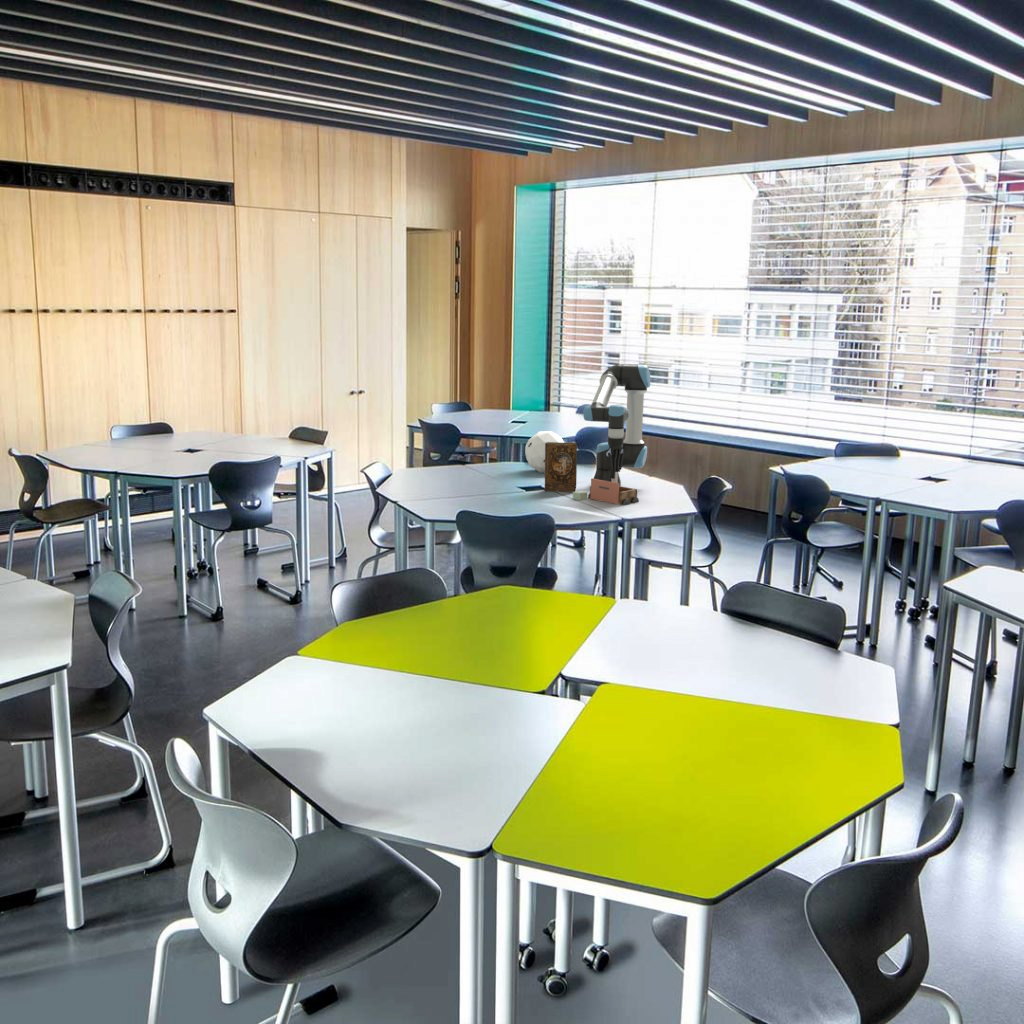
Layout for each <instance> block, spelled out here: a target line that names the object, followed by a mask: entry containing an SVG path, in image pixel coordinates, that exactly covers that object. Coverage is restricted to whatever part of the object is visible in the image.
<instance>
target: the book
mask: <svg viewBox="0 0 1024 1024" xmlns="http://www.w3.org/2000/svg"><path fill="white" fill-rule="evenodd" d="M577 463H578V444H577V442H564V443H555V442H547V443H545V472H544V492H546V493H547V492H552V493H553V492H557V493H573V492H575V491H577V490H576V489H577V473H578V471H577V468H578V467H577V465H578V464H577Z"/></svg>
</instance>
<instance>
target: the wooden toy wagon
mask: <svg viewBox="0 0 1024 1024" xmlns="http://www.w3.org/2000/svg"><path fill="white" fill-rule="evenodd" d="M587 499H590V500H592V499H591V486H589V494H587ZM593 500H595V499H593ZM595 501H596V500H595ZM598 501H600V500H598ZM639 501H640V500H639V498H638V489H637V488H633V487H632V488H631V487H626V486H619V504H618V505H621V506H622V505H623V506H627V505H630V504H636V503H639ZM600 502H601V501H600ZM604 502H605V501H603V503H604ZM609 503H610V502H608V504H609ZM610 504H611V503H610ZM613 504H615V503H613ZM615 505H616V504H615Z"/></svg>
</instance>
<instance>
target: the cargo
mask: <svg viewBox="0 0 1024 1024" xmlns="http://www.w3.org/2000/svg"><path fill="white" fill-rule="evenodd" d="M572 500H577V501H578V500H579V501H583V500H588V492H587V491H582V490H576V491H575V492H572Z"/></svg>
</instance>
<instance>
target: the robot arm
mask: <svg viewBox="0 0 1024 1024" xmlns="http://www.w3.org/2000/svg"><path fill="white" fill-rule="evenodd" d="M650 386H651V372H650V369H649V366H648V365H646V364H640V363H637V364H635V363H633V364H631V363H629V364H628V363H618V364H617V363H616V364H614V365H612V366H610V367H609V368H607V369H605V370H604V372H603V373H602V374H601V376H600V378H599V385H598V388H597V390H596V393H595V395H594V397H593V400H592V402H591V405H586V406H584V408H583V412H582V414H583V415H582V416H583V419H584V421H586V422H596V423H597V422H600V423H601V422H602V423H603V422H604V423H608V426H607V427H608V429H607V431H608V433H607V436H608V437H607V441H606V442H601V443H599V444H597V446H596V452H595V454H596V459H595V460H596V462H595V463H596V464H595V465H596V466H595V473H594V476H593V478H592V479H598V480H604V481H609V482H615V483H619V486H621V485H622V480H621V477H620V474H619V473H620V472H621V470H622V469H623V468H634V469H639V468H643V467H644V466H645V464H646V461H647V457H648V456H647V455H648V446H647V445H645V441H644V440H643V420H644V419H643V418H644V417H643V416H644V397H645V396H644V395H645V393H646V392H648V388H650ZM617 387H624V391H625V393H626V394H627V395H626V406H624V405H622V404H610V405H609V406H608V403H609V402H610V399H611V396H612V394H613V391H614V390H615V389H616V388H617ZM624 426H625V427H624ZM624 431H625V432H624ZM624 437H625V439H624Z"/></svg>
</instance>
